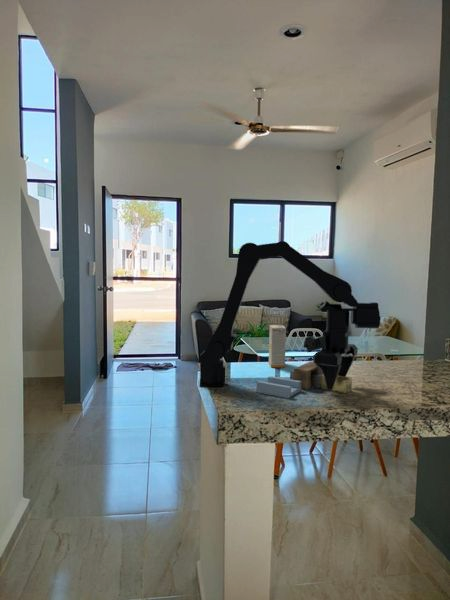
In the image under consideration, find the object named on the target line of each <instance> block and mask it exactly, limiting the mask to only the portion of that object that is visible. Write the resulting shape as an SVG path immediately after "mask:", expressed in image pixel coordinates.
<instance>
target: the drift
mask: <svg viewBox="0 0 450 600" xmlns="http://www.w3.org/2000/svg"><path fill="white" fill-rule="evenodd" d="M322 375H324V374H322V373H316V372H311V385H310V388H312V387H313V389H317V388H318V389H317V390H321V376H322ZM289 379H291V380H294V369H292V370H290V371H289Z"/></svg>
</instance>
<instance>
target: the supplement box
mask: <svg viewBox="0 0 450 600" xmlns="http://www.w3.org/2000/svg"><path fill="white" fill-rule="evenodd" d="M268 338H269V341H268V344H269V347H268V363H269V366H270V367H271V368H277V369H278V368H282V369H283V368H286V367H285V366H286V343H287V342H286V340H287V339H286V338H287V329H286V327H285V326H284V325H282V324H280V325H277V324H276V325H275V324H274V325H271V324H270V325H269V337H268Z"/></svg>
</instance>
